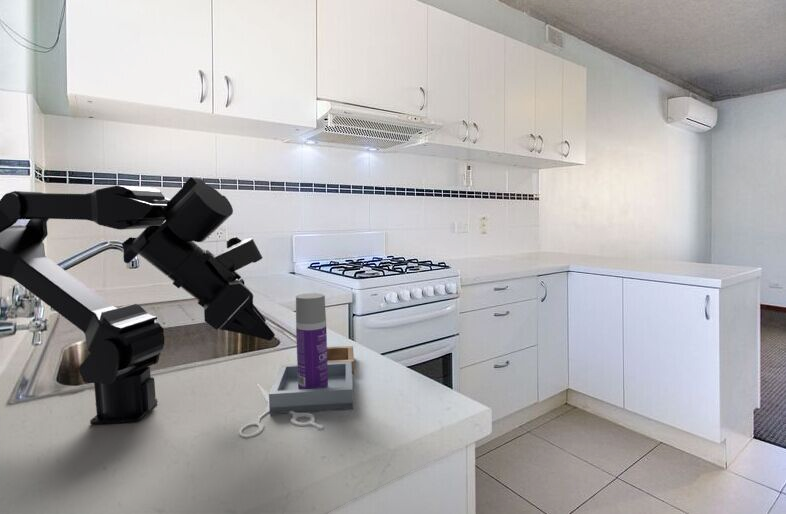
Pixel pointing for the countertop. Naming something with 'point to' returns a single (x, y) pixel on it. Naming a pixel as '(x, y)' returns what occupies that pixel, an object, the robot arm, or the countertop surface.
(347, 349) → the holder
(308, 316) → the container
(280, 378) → the tray
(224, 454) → the countertop surface
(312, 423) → the scissors
